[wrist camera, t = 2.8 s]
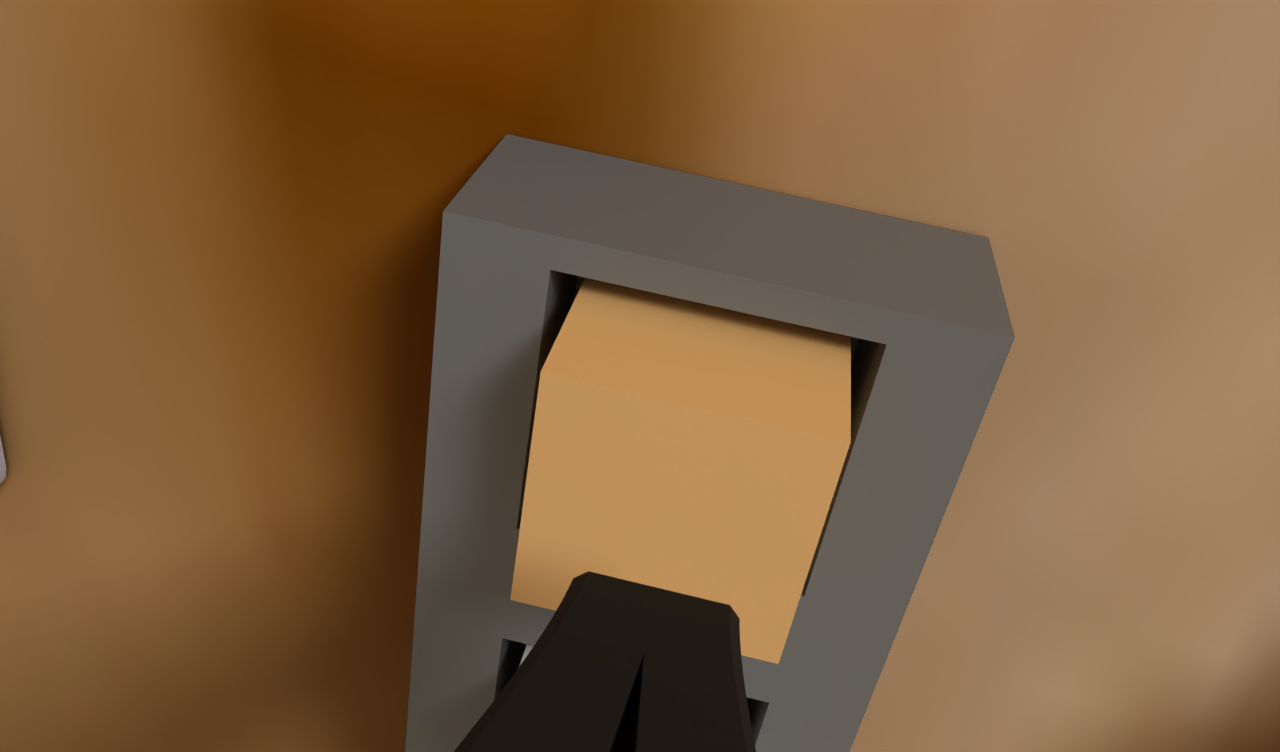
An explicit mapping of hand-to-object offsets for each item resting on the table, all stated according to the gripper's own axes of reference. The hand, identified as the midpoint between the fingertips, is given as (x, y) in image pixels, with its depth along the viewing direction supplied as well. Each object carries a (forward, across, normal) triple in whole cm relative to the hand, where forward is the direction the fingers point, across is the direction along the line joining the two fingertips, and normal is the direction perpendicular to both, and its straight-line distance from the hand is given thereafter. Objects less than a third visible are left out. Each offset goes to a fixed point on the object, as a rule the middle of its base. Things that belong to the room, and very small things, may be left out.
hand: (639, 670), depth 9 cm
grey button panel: (+6, 0, +6) cm, 8 cm away
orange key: (+4, 0, 0) cm, 4 cm away
